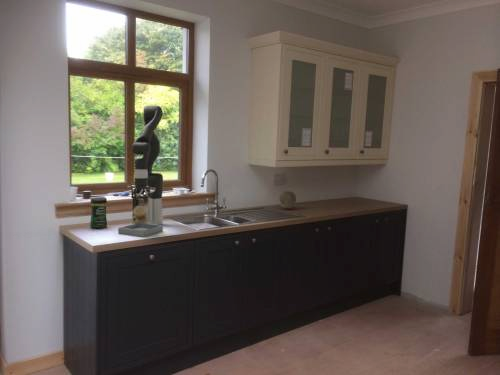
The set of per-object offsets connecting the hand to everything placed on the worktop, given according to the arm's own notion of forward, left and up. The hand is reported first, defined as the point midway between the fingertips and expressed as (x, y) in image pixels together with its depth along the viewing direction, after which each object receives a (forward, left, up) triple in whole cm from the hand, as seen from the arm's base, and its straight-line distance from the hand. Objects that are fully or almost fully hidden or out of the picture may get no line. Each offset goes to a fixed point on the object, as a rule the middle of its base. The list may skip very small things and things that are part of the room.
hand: (140, 204), depth 251 cm
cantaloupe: (-136, +44, -17) cm, 144 cm away
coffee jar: (+1, -31, -17) cm, 35 cm away
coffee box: (0, 0, -11) cm, 11 cm away
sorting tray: (0, 0, -16) cm, 16 cm away
